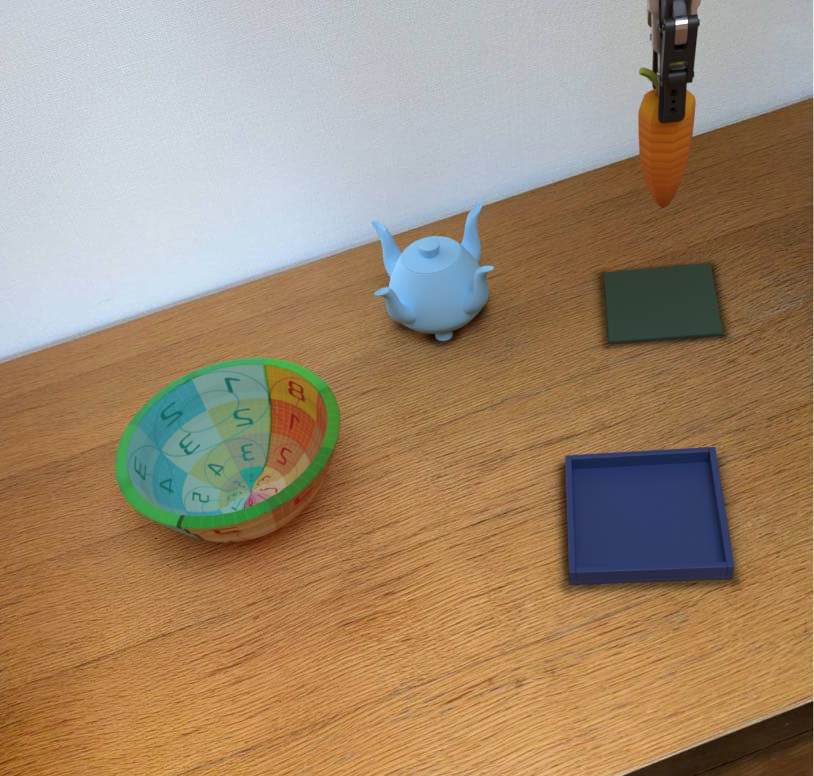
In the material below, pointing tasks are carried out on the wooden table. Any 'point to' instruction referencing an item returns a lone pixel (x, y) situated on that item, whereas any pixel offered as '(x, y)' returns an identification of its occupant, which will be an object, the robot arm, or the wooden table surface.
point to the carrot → (663, 144)
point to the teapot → (435, 280)
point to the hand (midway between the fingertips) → (667, 102)
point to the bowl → (230, 449)
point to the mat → (661, 304)
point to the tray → (646, 517)
